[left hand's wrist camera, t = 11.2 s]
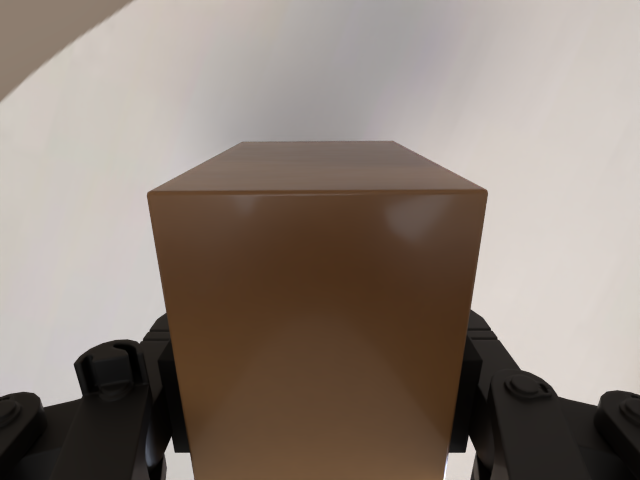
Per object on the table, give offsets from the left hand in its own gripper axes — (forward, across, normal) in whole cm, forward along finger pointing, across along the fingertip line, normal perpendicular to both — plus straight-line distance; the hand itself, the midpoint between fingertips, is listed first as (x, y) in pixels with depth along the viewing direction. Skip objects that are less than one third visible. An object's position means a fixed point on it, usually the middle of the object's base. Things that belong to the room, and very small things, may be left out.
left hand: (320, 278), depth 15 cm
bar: (0, 0, -23) cm, 23 cm away
